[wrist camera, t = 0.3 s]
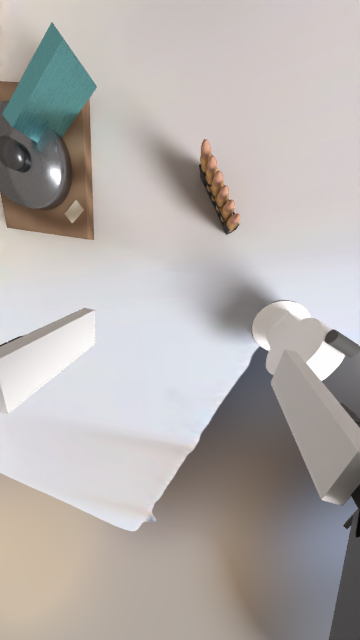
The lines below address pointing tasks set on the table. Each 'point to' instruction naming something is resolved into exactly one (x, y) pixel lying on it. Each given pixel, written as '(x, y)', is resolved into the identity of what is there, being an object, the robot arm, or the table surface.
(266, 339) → the panda figurine
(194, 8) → the table surface
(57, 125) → the dial
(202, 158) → the ammunition clip
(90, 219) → the stand
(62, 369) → the robot arm
